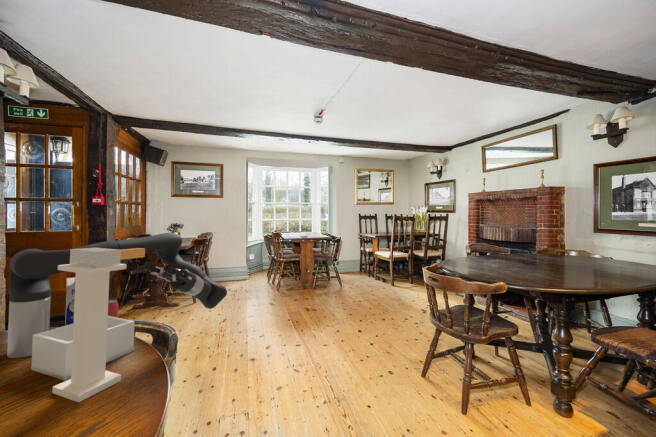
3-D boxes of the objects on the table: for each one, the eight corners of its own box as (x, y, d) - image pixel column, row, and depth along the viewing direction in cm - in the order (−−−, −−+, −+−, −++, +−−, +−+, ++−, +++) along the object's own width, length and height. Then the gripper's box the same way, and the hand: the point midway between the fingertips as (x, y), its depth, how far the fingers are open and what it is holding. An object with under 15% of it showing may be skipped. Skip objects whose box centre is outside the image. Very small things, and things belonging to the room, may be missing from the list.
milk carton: (87, 324, 116) (89, 275, 116) (89, 329, 111) (91, 278, 111) (64, 328, 111) (66, 277, 111) (64, 333, 106) (67, 280, 106)
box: (31, 369, 81) (32, 334, 81) (102, 343, 99) (103, 314, 99) (64, 380, 76) (66, 343, 76) (133, 351, 94) (134, 321, 94)
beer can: (105, 336, 104) (106, 304, 105) (91, 334, 106) (92, 302, 106) (121, 330, 111) (123, 299, 111) (108, 328, 112) (109, 298, 112)
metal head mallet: (69, 264, 74) (70, 249, 74) (130, 257, 89) (130, 245, 89) (95, 267, 70) (96, 251, 70) (153, 260, 86) (154, 247, 86)
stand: (49, 392, 71) (55, 265, 72) (93, 372, 81) (98, 260, 81) (81, 403, 67) (87, 269, 68) (123, 381, 77) (128, 264, 77)
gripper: (177, 271, 109) (144, 254, 96) (207, 275, 104) (177, 257, 91) (168, 290, 105) (132, 275, 92) (199, 295, 101) (166, 279, 87)
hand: (154, 266), depth 92 cm, fingers open, 8 cm apart
